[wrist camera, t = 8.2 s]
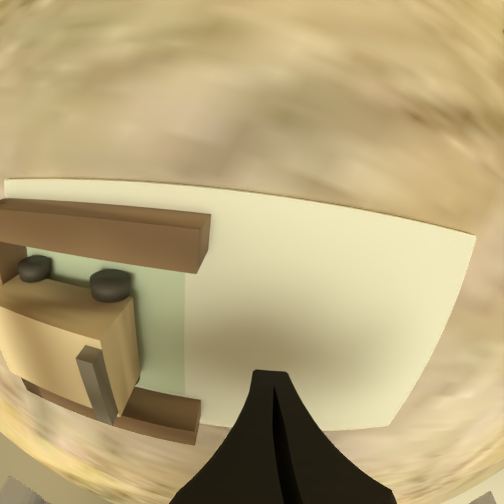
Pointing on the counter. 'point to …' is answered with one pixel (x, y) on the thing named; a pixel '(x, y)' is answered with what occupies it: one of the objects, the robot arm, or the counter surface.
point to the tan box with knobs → (72, 336)
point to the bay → (121, 251)
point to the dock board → (280, 298)
